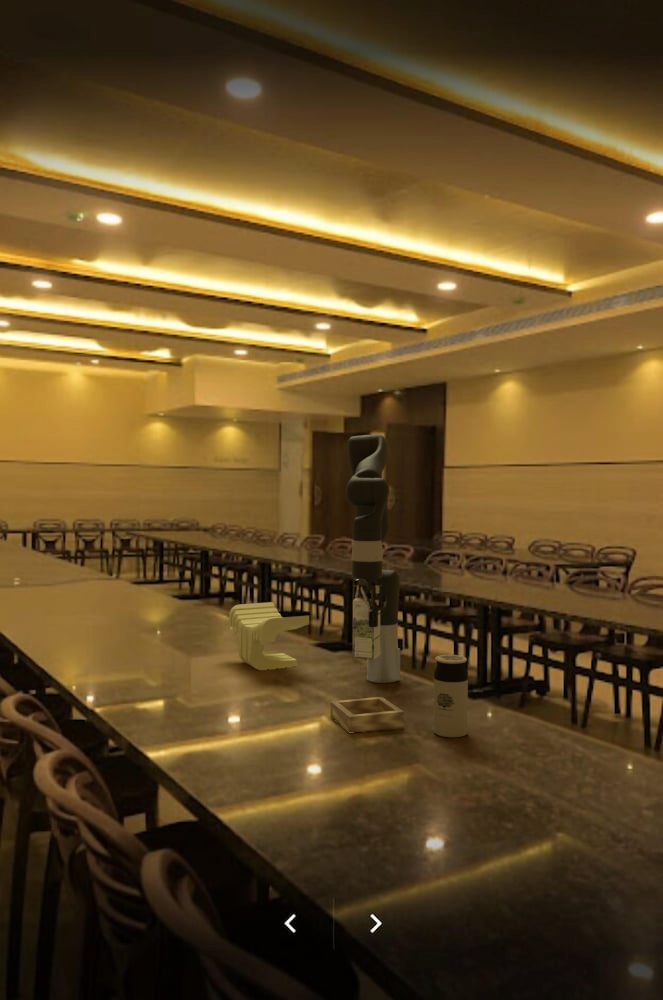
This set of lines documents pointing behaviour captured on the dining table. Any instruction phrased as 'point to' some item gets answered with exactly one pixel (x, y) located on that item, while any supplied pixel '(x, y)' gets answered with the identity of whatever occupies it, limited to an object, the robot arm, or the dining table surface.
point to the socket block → (367, 714)
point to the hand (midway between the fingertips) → (366, 624)
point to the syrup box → (364, 632)
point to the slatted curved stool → (262, 633)
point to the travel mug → (450, 696)
